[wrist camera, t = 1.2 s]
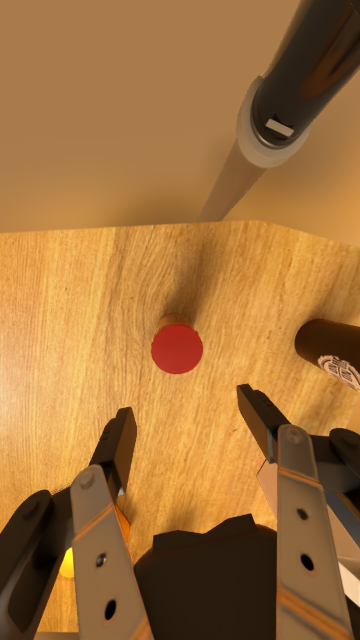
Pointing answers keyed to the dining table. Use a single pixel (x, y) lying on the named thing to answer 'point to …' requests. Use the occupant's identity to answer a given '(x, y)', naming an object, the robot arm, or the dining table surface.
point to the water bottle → (332, 349)
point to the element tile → (67, 563)
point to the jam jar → (172, 319)
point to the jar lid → (176, 348)
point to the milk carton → (353, 562)
